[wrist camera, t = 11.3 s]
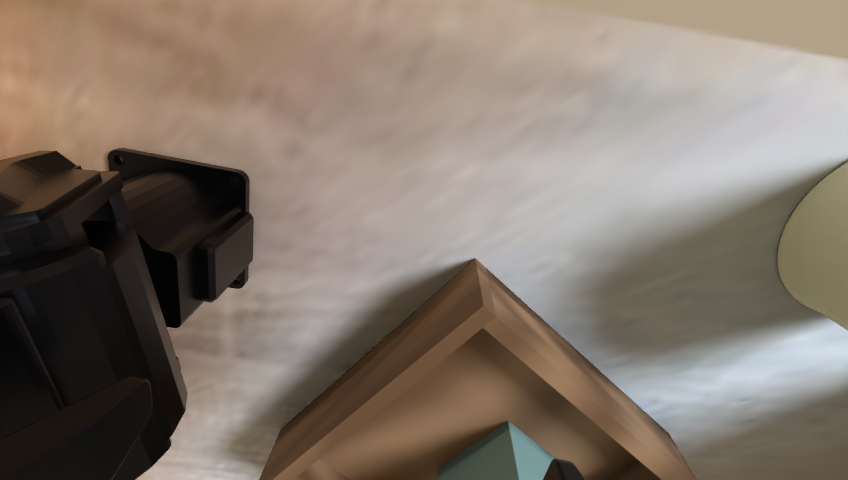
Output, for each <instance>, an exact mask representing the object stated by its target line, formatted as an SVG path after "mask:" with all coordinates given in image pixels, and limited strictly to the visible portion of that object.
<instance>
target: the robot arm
mask: <svg viewBox="0 0 848 480" xmlns="http://www.w3.org/2000/svg"><path fill="white" fill-rule="evenodd" d="M120 156H122V157H123V159H124V161H125V162H124V163H123V162H122V161H121V160H120V158H119V157H120ZM108 160H109V168H110V171H92V170H82V169H81V166H76V165H75V164H73V163H72V162H71V161H69V160H68V159H67V158H65V157H64V156H63V155H61V154H60V153H59V152H57V151H37V152H33V153H29V154H25V155H20V156H16V157H12V158H8V159H4V160H0V480H135V479H137V478H138V477H139V476H141V475H142V474H143V473H144V472H146V471H147V470H148V469H150V468H151V467H152V466H153V465H154V464H155V463H156V462H157V461H158V460H159V459H160V458H161V457H162V456H163V455H164V454H165V452H166V451H167V450H168V449H169V448H170V446H171V439H170V437H171V435H172V434H173V432H174V431H175V429H176V427H177V425H178V423H179V422H180V420H181V418H182V416H183V414H184V412H185V409H186V400H187V390H186V387H185V384H184V380H183V377H182V374H181V371H180V370H181V367H180V363H179V360H178V358H177V357H176V355H175V352H174V349H173V346H172V343H171V339H170V336H169V333H168V330H167V327H172V328H178V327H179V326H181V325H182V324H183V323H184V322H185V320H186V319H187V318H188V317H189V316H190V315H191V314H192V313H193V312H194V311H195V310H196V309H197V308H198V307H199V306H200V305H201V304H202V303H203V302H204V301H205V302H213V301H214V300H216V299H217V298H218V297H219V296H220V295H221V294H222V293H223V292H224V291H225V290H226V288H227V287H230V288H236V289H239V288H242V287H243V286H244V285H245V284H246V282H247V281H248V265H249V263H250V262H251V261H252V260H253V217H252V215H251V214H250V213H249V177H248V176H247V174H246V173H245V172H243V171H241V170H238V169H232V168H227V167H222V166H216V165H211V164H206V163H200V162H195V161H189V160H184V159H179V158H173V157H168V156H163V155H157V154H152V153H147V152H141V151H136V150H131V149H125V148H119V149H115V150H113V151H111V152H110V153H109V156H108ZM234 177H237V178H239V179H240V181H241V184H240V185H239V184H236V182H235V181H234ZM237 277H238V278H239V279H240V281H238V280H236V278H237ZM543 480H586V479H585V478H584V476H583V475H582V474H581V472H580V471H579V470H578V468H577V467H576V466H575V464H574V463H572V462H571V461H568V460H562V459H557V458H555V459H553V460H552V461H551V463H550V465H549V467H548V469H547V472H546V474H545V476H544V478H543Z"/></svg>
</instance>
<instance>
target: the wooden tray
mask: <svg viewBox="0 0 848 480" xmlns="http://www.w3.org/2000/svg"><path fill="white" fill-rule="evenodd" d="M507 421H509V422H511V423H512V424H513V425H514V426H516V427H517V428H518V429H519V430H521V431H522V432H523V433H525V434H526V435H527V436H528V437H530V438H531V439H532V440H534V441H535V442H536V443H537V444H539V445H540V446H541V447H542V448H544V449H545V450H546V451H548V452H549V453H550V454H551V455H553V456H554V457H555V458H557V459H562V460H568V461H571V462H572V463H574V464H575V466H576V467H577V468H578V470H579V471H580V472H581V474H582V475H583V476H584V478H585V479H586V480H697V479H696V478H695V476H694V474H693V473H692V471H691V469H690V468H689V466H688V465H687V463H686V461H685V460H684V458H683V456H682V455H681V453H680V451H679V450H678V448H677V446H676V445H675V443H674V441H673V440H672V438H671V436H670V435H669V433H667V432H666V431H665V430H664V429H663V428H662V427H661V426H660V425H659V424H658V423H656V422H655V421H654V420H653V419H652V418H651V417H650V416H649V415H648V414H646V413H645V412H644V411H643V410H642V409H641V408H640V407H639V406H638V405H637V404H635V403H634V402H633V401H632V400H631V399H630V398H629V397H628V396H627V395H626V394H624V393H623V392H622V391H621V390H620V389H619V388H618V387H617V386H616V385H614V384H613V383H612V382H611V381H610V380H609V379H608V378H607V377H606V376H605V375H603V374H602V373H601V372H600V371H599V370H598V369H597V368H596V367H595V366H594V365H592V364H591V363H590V362H589V361H588V360H587V359H586V358H585V357H584V356H582V355H581V354H580V353H579V352H578V351H577V350H576V349H575V348H574V347H573V346H571V345H570V344H569V343H568V342H567V341H566V340H565V339H564V338H563V337H561V336H560V335H559V334H558V333H557V332H556V331H555V330H554V329H553V328H552V327H550V326H549V325H548V324H547V323H546V322H545V321H544V320H543V319H542V318H541V317H539V316H538V315H537V314H536V313H535V312H534V311H533V310H532V309H531V308H529V307H528V306H527V305H526V304H525V303H524V302H523V301H522V300H521V299H520V298H518V297H517V296H516V295H515V294H514V293H513V292H512V291H511V290H510V289H509V288H507V287H506V286H505V285H504V284H503V283H502V282H501V281H500V280H499V279H497V278H496V277H495V276H494V275H493V274H492V273H491V272H490V271H489V270H488V269H486V268H485V267H484V266H483V265H482V264H481V263H480V262H479V261H478V260H477V259H474V260H473V261H472V262H471V263H470V264H469V265H467V266H466V267H465V268H464V269H463V270H462V271H461V272H459V273H458V274H457V275H456V276H455V277H454V278H453V279H452V280H450V281H449V282H448V283H447V284H446V285H445V286H444V287H442V288H441V289H440V290H439V291H438V292H437V293H436V294H434V295H433V296H432V297H431V298H430V299H429V300H428V301H427V302H425V303H424V304H423V305H422V306H421V307H420V308H419V309H417V310H416V311H415V312H414V313H413V314H412V315H411V316H409V317H408V318H407V319H406V320H405V321H404V322H403V323H402V324H400V325H399V326H398V327H397V328H396V329H395V330H394V331H392V332H391V333H390V334H389V335H388V336H387V337H386V338H385V339H383V340H382V341H381V342H380V343H379V344H378V345H377V346H375V347H374V348H373V349H372V350H371V351H370V352H369V353H367V354H366V355H365V356H364V357H363V358H362V359H361V360H360V361H358V362H357V363H356V364H355V365H354V366H353V367H352V368H350V369H349V370H348V371H347V372H346V373H345V374H344V375H342V376H341V377H340V378H339V379H338V380H337V381H336V382H335V383H333V384H332V385H331V386H330V387H329V388H328V389H327V390H325V391H324V392H323V393H322V394H321V395H320V396H319V397H317V398H316V399H315V400H314V401H313V402H312V403H311V404H310V405H308V406H307V407H306V408H305V409H304V410H303V411H302V412H300V413H299V414H298V415H297V416H296V417H295V418H294V419H292V420H291V421H290V422H289V423H288V424H287V425H286V426H285V427H283V428H282V429H281V430H280V433H279V435H278V437H277V440H276V442H275V444H274V447H273V449H272V451H271V454H270V456H269V458H268V461H267V463H266V465H265V468H264V470H263V472H262V475H261V477H260V479H259V480H438V469H439V468H440V467H441V466H443V465H444V464H446V463H447V462H449V461H450V460H452V459H453V458H454V457H456V456H457V455H459V454H460V453H462V452H463V451H465V450H466V449H468V448H469V447H470V446H472V445H473V444H475V443H476V442H478V441H479V440H481V439H482V438H483V437H485V436H486V435H488V434H489V433H491V432H492V431H494V430H495V429H497V428H498V427H499V426H501V425H502V424H504V423H505V422H507Z"/></svg>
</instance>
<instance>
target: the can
mask: <svg viewBox="0 0 848 480" xmlns="http://www.w3.org/2000/svg"><path fill="white" fill-rule="evenodd" d="M777 261H778V270H779V275H780V277H781V280H782V282H783V284H784V286H785V288H786V289H787V290H788V292H789V293H790V294H791V295H792V296H793V297H794V298H795V299H796V300H797V301H798V302H800V303H801V304H803V305H805V306H806V307H808V308H810V309H812V310H815V311H818V312H820V313H821V314H823V315H825V316H826V317H828V318H829V319H831V320H833V321H834V322H836V323H837V324H839V325H840V326H842V327H843V328H845V329H846V330H848V162H847V163H845V164H844V165H842V166H841V167H839V168H837V169H836V170H834V171H833V172H832V173H830V174H829V175H828V176H827V177H825V178H824V179H823V180H822V181H820V182H819V183H818V184H817V185H816V186H815V187H814V188H813V189H812V190H811V191H810V192H809V193H808V194H807V195H806V196H805V197H804V198H803V200H802V201H801V202H800V203H799V205H798V206H797V208H796V209H795V210H794V212H793V213H792V215H791V217H790V218H789V220H788V222H787V224H786V226H785V228H784V231H783V234H782V236H781V239H780V243H779V248H778V257H777Z"/></svg>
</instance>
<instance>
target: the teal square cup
mask: <svg viewBox="0 0 848 480" xmlns="http://www.w3.org/2000/svg"><path fill="white" fill-rule="evenodd" d="M553 459H555V457H554V456H553V455H551V454H550V453H549V452H548V451H546V450H545V449H544V448H542V447H541V446H540V445H539V444H537V443H536V442H535V441H534V440H532V439H531V438H530V437H528V436H527V435H526V434H525V433H523V432H522V431H521V430H519V429H518V428H517V427H516V426H514V425H513V424H512V423H511V422H509V421H507V422H505V423H504V424H502V425H501V426H499V427H498V428H497V429H495V430H494V431H492V432H491V433H489V434H488V435H486V436H485V437H483V438H482V439H481V440H479V441H478V442H476V443H475V444H473V445H472V446H470V447H469V448H468V449H466V450H465V451H463V452H462V453H460V454H459V455H457V456H456V457H454V458H453V459H452V460H450V461H449V462H447V463H446V464H444V465H443V466H441V467H440V468H439V469H438V480H543V478H544V476H545V474H546V472H547V469H548V467H549V465H550V463H551V461H552V460H553Z"/></svg>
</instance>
